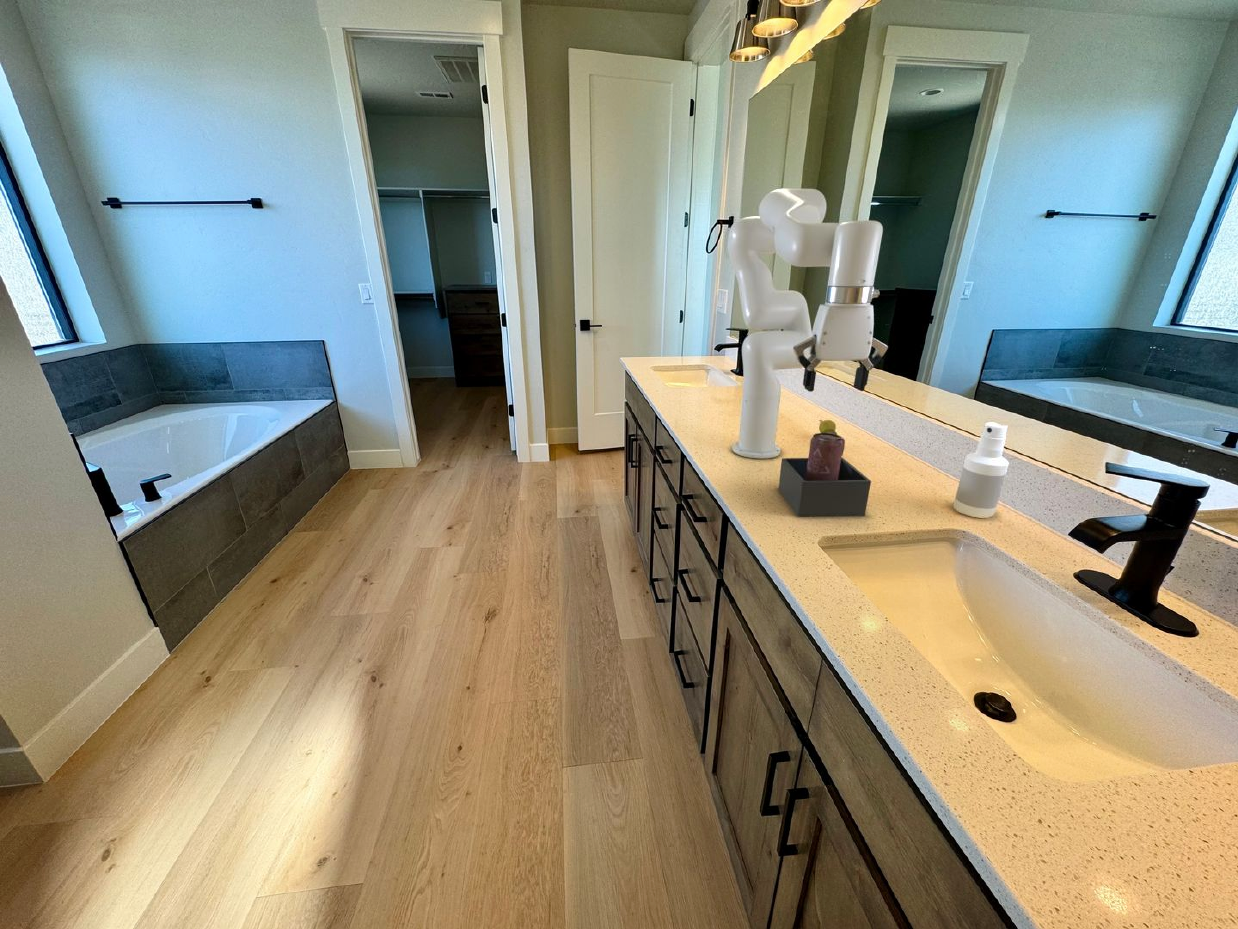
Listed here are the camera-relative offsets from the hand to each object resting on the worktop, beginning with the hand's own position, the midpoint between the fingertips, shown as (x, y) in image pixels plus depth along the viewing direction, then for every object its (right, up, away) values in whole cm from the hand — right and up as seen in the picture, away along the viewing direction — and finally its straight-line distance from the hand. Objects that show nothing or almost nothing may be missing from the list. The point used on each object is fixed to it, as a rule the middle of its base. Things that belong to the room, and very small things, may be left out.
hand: (833, 389), depth 95 cm
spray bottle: (+29, -24, +3) cm, 38 cm away
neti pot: (+17, -9, +43) cm, 47 cm away
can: (0, -22, +8) cm, 24 cm away
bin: (0, -22, +8) cm, 24 cm away
